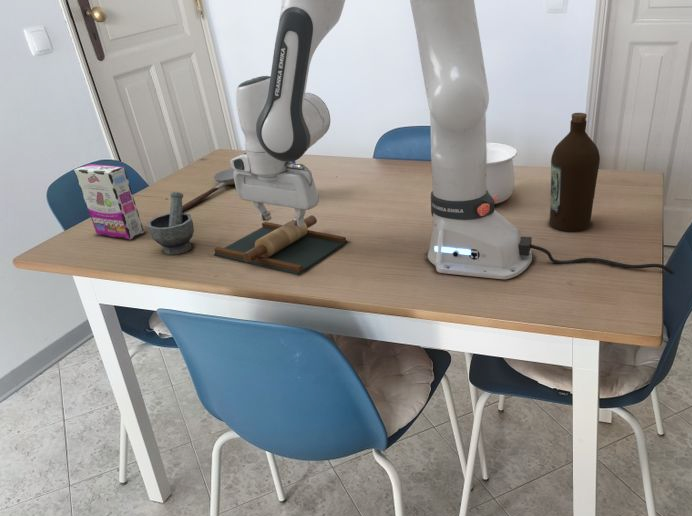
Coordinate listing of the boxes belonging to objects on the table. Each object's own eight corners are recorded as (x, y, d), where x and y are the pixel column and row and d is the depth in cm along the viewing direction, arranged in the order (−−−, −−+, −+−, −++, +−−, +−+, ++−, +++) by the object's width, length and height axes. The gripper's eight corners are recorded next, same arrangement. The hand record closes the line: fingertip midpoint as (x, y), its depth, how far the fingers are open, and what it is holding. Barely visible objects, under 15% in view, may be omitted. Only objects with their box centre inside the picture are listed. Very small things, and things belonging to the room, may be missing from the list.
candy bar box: (146, 232, 154) (125, 166, 145) (131, 240, 151) (109, 172, 141) (111, 227, 158) (89, 162, 149) (95, 235, 154) (72, 169, 145)
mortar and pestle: (184, 259, 141) (170, 207, 134) (147, 256, 142) (131, 205, 136) (209, 238, 150) (197, 189, 143) (174, 236, 152) (160, 188, 145)
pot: (503, 217, 153) (505, 168, 147) (436, 211, 159) (435, 163, 152) (523, 188, 171) (525, 142, 164) (462, 183, 176) (461, 139, 169)
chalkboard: (347, 242, 145) (346, 236, 144) (298, 275, 132) (297, 268, 131) (267, 226, 155) (266, 221, 154) (214, 255, 142) (212, 249, 141)
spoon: (261, 176, 185) (258, 166, 184) (187, 222, 161) (183, 211, 159) (231, 176, 189) (228, 166, 188) (155, 221, 165) (151, 210, 163)
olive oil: (586, 214, 153) (597, 107, 139) (597, 231, 144) (610, 119, 131) (543, 216, 153) (549, 109, 139) (551, 234, 144) (559, 121, 130)
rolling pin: (321, 229, 150) (319, 212, 147) (256, 269, 133) (252, 250, 131) (307, 226, 152) (304, 209, 149) (241, 265, 135) (236, 246, 133)
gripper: (318, 160, 130) (329, 223, 137) (244, 152, 138) (258, 212, 146) (299, 169, 125) (311, 234, 133) (224, 160, 134) (239, 221, 141)
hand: (282, 222), depth 139 cm, fingers open, 8 cm apart
